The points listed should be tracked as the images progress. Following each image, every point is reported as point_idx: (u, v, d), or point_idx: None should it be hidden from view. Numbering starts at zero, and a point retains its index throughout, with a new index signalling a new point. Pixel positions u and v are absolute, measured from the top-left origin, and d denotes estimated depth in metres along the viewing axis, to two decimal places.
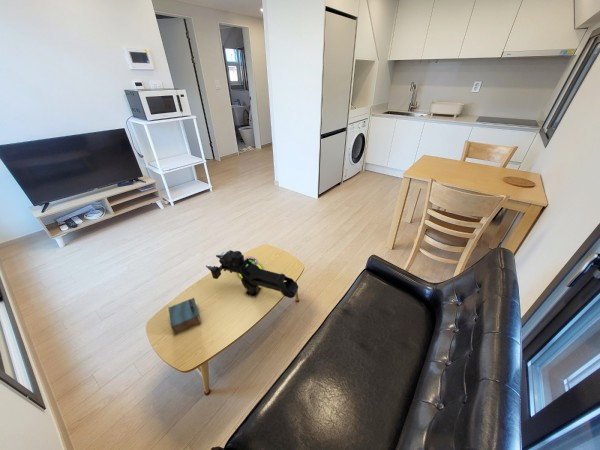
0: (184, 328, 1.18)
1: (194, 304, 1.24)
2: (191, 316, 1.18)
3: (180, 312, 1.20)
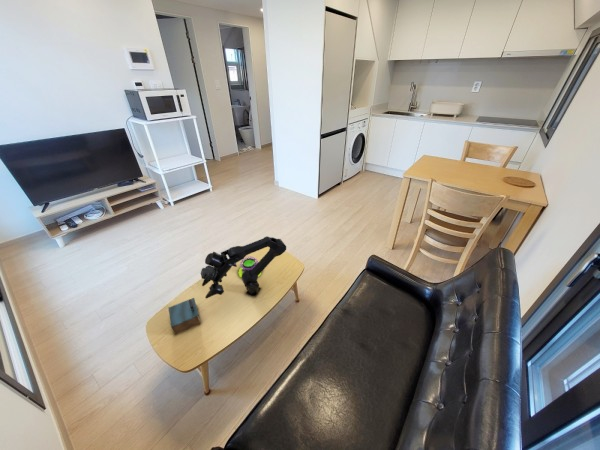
0: (184, 328, 1.18)
1: (194, 304, 1.24)
2: (191, 316, 1.18)
3: (180, 312, 1.20)
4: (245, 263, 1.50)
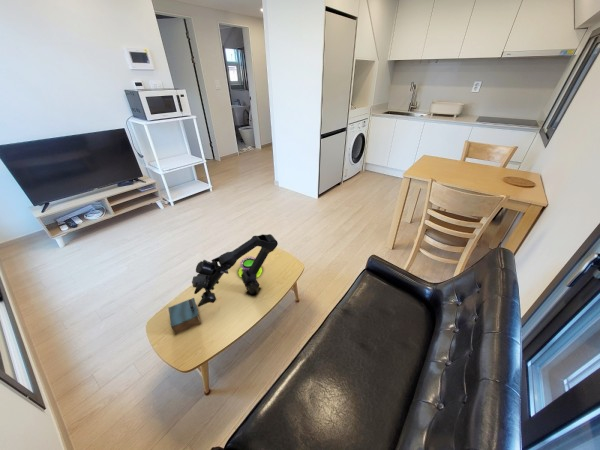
0: (184, 328, 1.18)
1: (194, 304, 1.24)
2: (191, 316, 1.18)
3: (180, 312, 1.20)
4: (245, 263, 1.50)
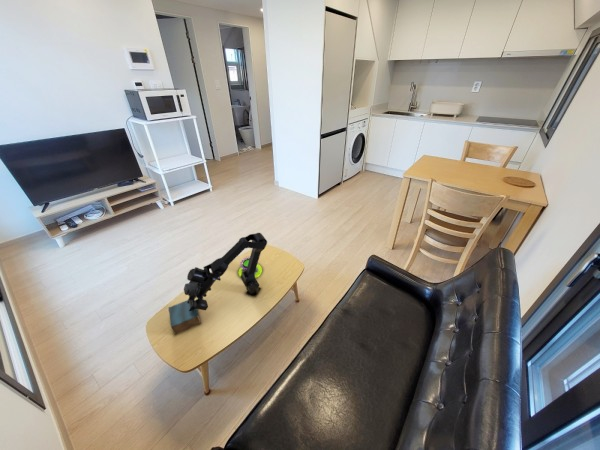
0: (184, 328, 1.18)
1: None
2: (191, 316, 1.18)
3: (180, 312, 1.20)
4: (245, 263, 1.50)
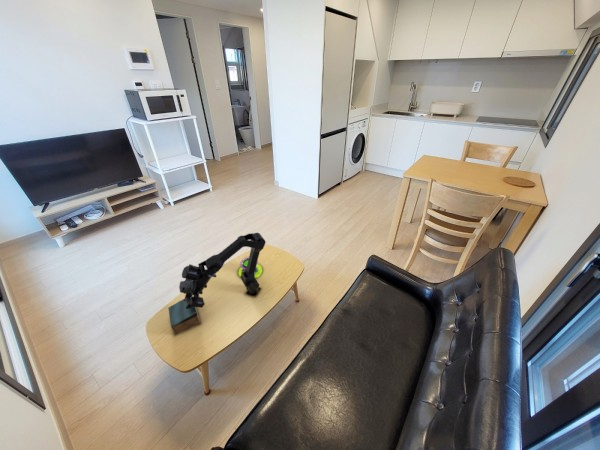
0: (184, 328, 1.18)
1: None
2: (189, 314, 1.17)
3: (179, 311, 1.19)
4: (245, 263, 1.50)
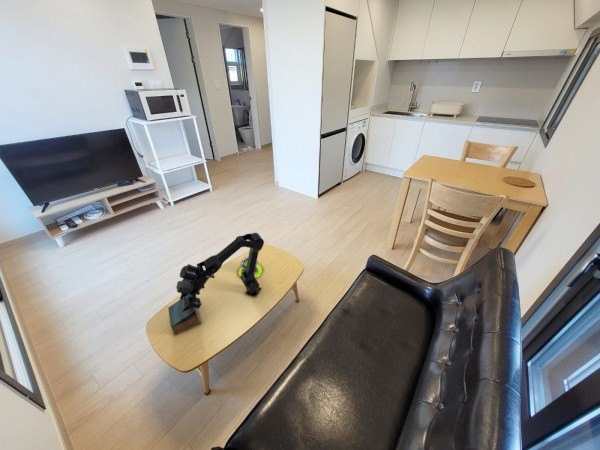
0: (184, 328, 1.18)
1: None
2: (187, 312, 1.16)
3: (178, 310, 1.19)
4: (245, 263, 1.50)
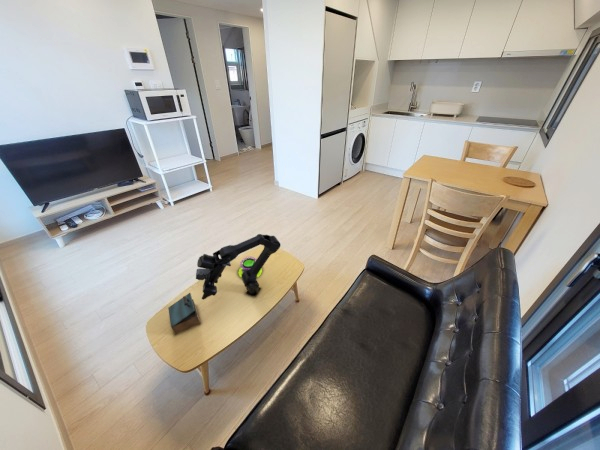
0: (184, 328, 1.18)
1: (190, 299, 1.21)
2: (187, 312, 1.16)
3: (178, 310, 1.19)
4: (245, 263, 1.50)
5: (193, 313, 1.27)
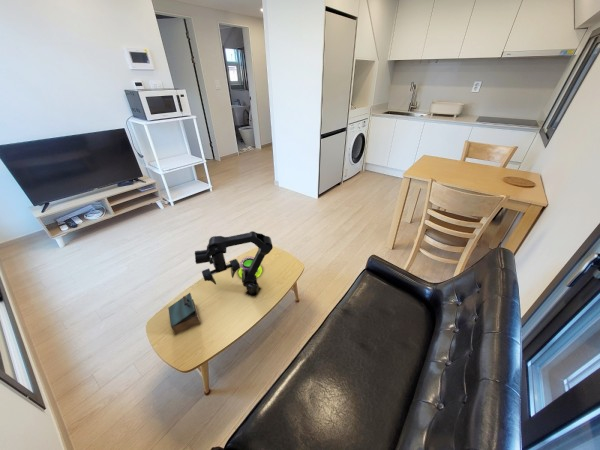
0: (184, 328, 1.18)
1: (190, 299, 1.21)
2: (187, 312, 1.16)
3: (178, 310, 1.19)
4: (245, 263, 1.50)
5: (193, 313, 1.27)
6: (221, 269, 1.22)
